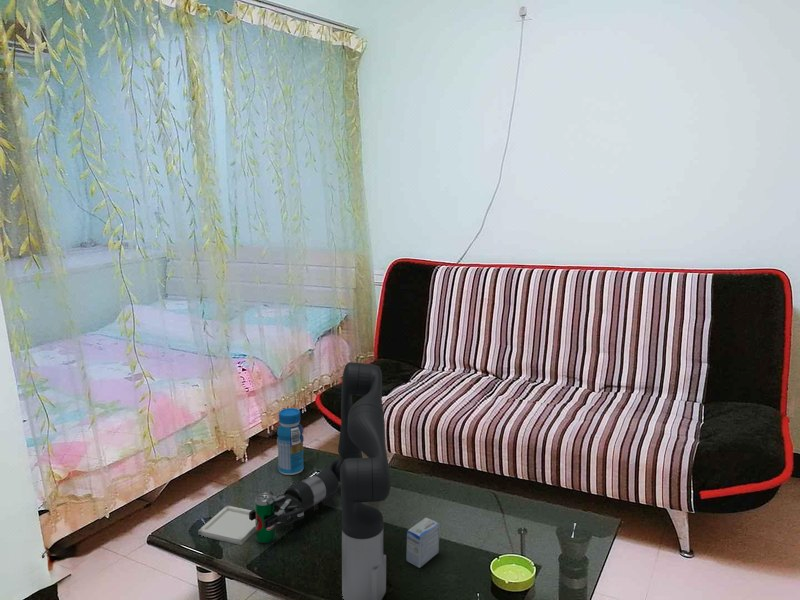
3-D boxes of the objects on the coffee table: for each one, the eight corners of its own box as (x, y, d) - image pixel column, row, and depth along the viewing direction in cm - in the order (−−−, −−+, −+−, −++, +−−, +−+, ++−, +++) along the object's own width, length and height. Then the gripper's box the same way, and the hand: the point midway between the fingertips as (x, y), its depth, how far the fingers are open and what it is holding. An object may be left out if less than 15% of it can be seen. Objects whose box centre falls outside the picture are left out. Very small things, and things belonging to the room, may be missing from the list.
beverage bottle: (275, 475, 190) (273, 416, 186) (281, 463, 198) (279, 406, 194) (301, 476, 190) (300, 417, 186) (306, 463, 198) (305, 406, 194)
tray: (267, 518, 166) (267, 513, 166) (241, 545, 154) (241, 540, 154) (227, 510, 170) (226, 505, 170) (198, 535, 158) (198, 530, 158)
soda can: (271, 545, 154) (269, 503, 151) (252, 543, 155) (250, 500, 152) (278, 534, 159) (277, 493, 156) (261, 532, 160) (259, 491, 157)
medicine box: (425, 546, 154) (425, 516, 153) (439, 553, 152) (439, 522, 150) (405, 561, 148) (406, 530, 147) (420, 569, 146) (420, 536, 144)
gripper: (288, 473, 170) (238, 498, 157) (323, 490, 161) (274, 517, 148) (288, 498, 172) (239, 524, 158) (324, 515, 163) (275, 544, 150)
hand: (257, 520), depth 153 cm, fingers closed on soda can, 5 cm apart
